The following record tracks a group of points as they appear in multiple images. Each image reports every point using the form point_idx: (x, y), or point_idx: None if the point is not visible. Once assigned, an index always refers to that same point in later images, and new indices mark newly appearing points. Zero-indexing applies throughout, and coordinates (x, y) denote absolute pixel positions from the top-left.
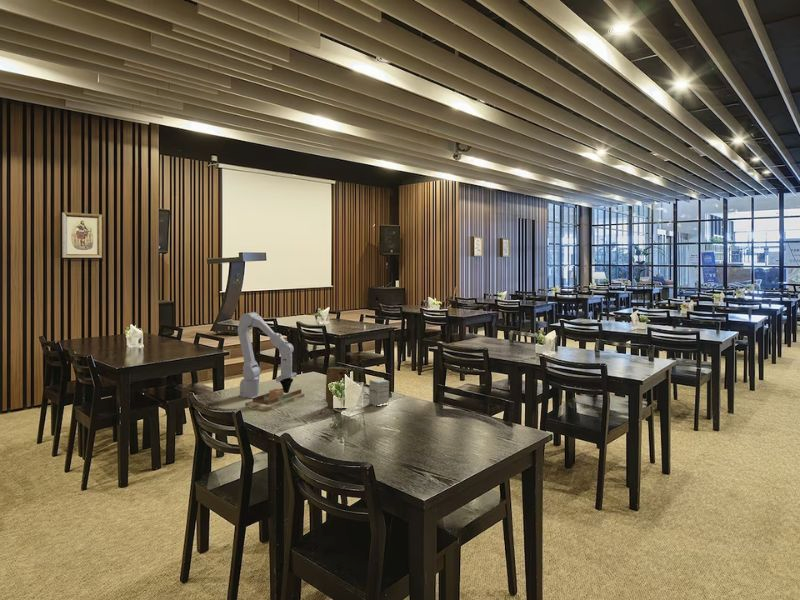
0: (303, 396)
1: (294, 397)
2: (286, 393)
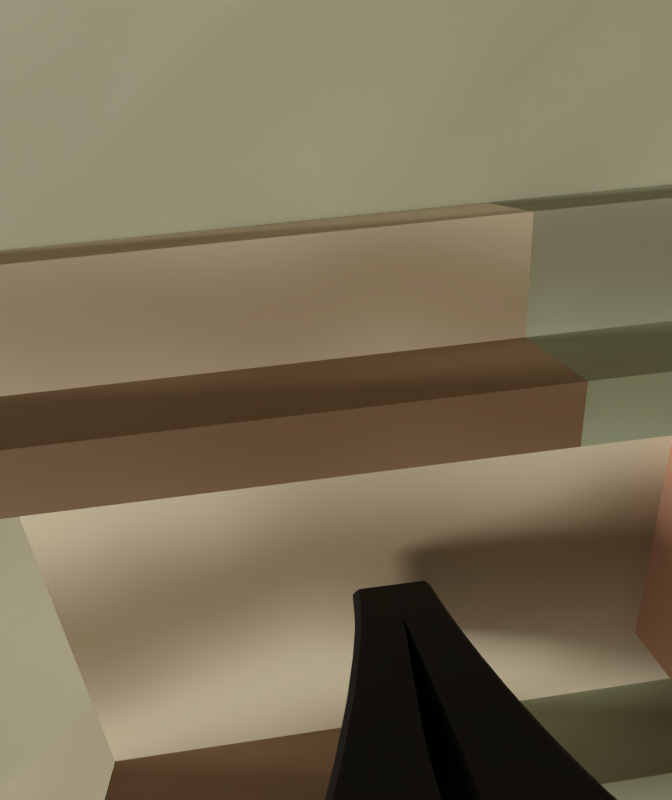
0: (21, 253)
1: (500, 216)
2: (292, 649)
